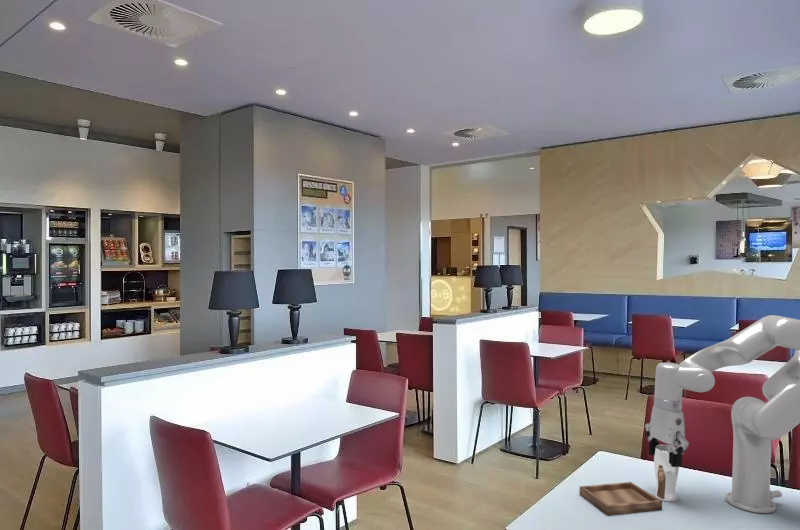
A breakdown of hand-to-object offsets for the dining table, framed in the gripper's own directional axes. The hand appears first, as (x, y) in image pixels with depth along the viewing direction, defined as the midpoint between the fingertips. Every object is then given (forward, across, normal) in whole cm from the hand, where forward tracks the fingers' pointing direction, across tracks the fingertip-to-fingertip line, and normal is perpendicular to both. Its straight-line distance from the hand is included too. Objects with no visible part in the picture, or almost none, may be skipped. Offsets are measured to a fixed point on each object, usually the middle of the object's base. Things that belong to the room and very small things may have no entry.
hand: (664, 460), depth 168 cm
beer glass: (+12, 0, -1) cm, 12 cm away
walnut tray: (+12, 0, +15) cm, 19 cm away
